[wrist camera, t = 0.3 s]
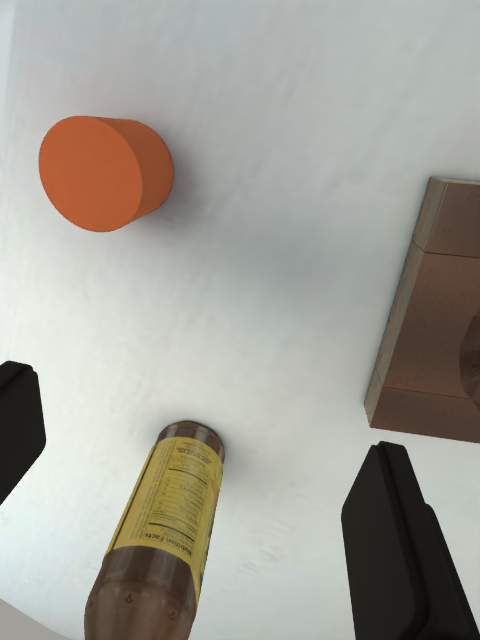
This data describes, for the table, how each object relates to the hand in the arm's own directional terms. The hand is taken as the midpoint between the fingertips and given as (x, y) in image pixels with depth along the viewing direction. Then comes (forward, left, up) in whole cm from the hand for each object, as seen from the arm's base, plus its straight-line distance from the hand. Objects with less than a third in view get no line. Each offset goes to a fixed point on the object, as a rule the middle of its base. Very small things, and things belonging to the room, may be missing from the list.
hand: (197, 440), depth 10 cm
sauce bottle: (+17, -4, -15) cm, 23 cm away
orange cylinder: (-5, -8, -15) cm, 18 cm away
